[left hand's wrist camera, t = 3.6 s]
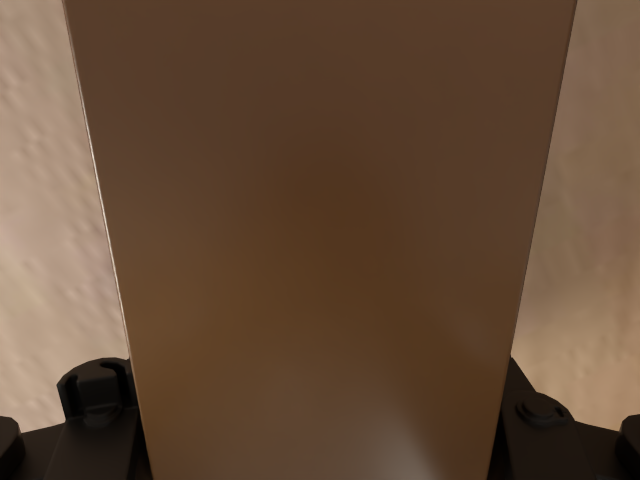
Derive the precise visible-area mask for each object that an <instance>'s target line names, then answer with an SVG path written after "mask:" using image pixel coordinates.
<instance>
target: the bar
mask: <svg viewBox="0 0 640 480" xmlns="http://www.w3.org/2000/svg"><path fill="white" fill-rule="evenodd" d="M62 3H63V8H64V14H65V19H66V24H67V29H68V35H69V40H70V45H71V50H72V56H73V61H74V66H75V72H76V77H77V82H78V87H79V93H80V98H81V103H82V109H83V114H84V119H85V124H86V130H87V135H88V140H89V145H90V151H91V156H92V161H93V167H94V172H95V177H96V182H97V188H98V193H99V198H100V204H101V209H102V214H103V219H104V225H105V230H106V235H107V240H108V246H109V251H110V256H111V262H112V267H113V272H114V277H115V283H116V288H117V293H118V299H119V304H120V309H121V314H122V320H123V325H124V330H125V336H126V341H127V346H128V351H129V357H130V362H131V367H132V372H133V378H134V383H135V388H136V394H137V399H138V404H139V409H140V415H141V420H142V425H143V431H144V436H145V441H146V446H147V452H148V457H149V462H150V467H151V473H152V478H153V480H487V476H488V470H489V465H490V460H491V454H492V449H493V444H494V439H495V433H496V428H497V423H498V417H499V412H500V407H501V401H502V396H503V391H504V386H505V380H506V375H507V370H508V364H509V359H510V354H511V349H512V343H513V338H514V333H515V327H516V322H517V317H518V311H519V306H520V301H521V296H522V290H523V285H524V280H525V274H526V269H527V264H528V259H529V253H530V248H531V243H532V237H533V232H534V227H535V221H536V216H537V211H538V206H539V200H540V195H541V190H542V184H543V179H544V174H545V169H546V163H547V158H548V153H549V147H550V142H551V137H552V131H553V126H554V121H555V116H556V110H557V105H558V100H559V94H560V89H561V84H562V79H563V73H564V68H565V63H566V57H567V52H568V47H569V41H570V36H571V31H572V26H573V20H574V15H575V10H576V4H577V0H62Z"/></svg>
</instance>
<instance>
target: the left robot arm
mask: <svg viewBox="0 0 640 480" xmlns="http://www.w3.org/2000/svg"><path fill="white" fill-rule="evenodd" d="M57 388H58V392H59V396H60V400H61V403H62V407H63V411H64V414H65V418H66V421H65V423H62V424H58V425H55V426H51V427H47V428H42V429H38V430H34V431H29V432H25V433H21V431H20V428H19V425H18V423H17V422H16V421H15V420H14V419H12V418H10V417H3V416H0V480H153V478H152V473H151V467H150V462H149V457H148V452H147V446H146V441H145V436H144V431H143V425H142V420H141V415H140V409H139V404H138V399H137V394H136V388H135V383H134V378H133V372H132V367H131V362H130V357H129V359H127V360H124V359H120V358H116V357H113V358H100V359H96V360H92V361H88V362H86V363H84V364H81V365H79V366H77V367H75V368H73V369H72V370H70V371H69V372H68V373H66V374H65V375H64V376H63V377H62V378H61V379H60V381H59V382H58V383H57ZM487 480H640V414H638V415H631V416H628V417H627V418H626V419H624V420H623V421H622V424H621V427H620V430H619V431H614V430H610V429H605V428H601V427H597V426H592V425H588V424H584V423H581V422H577V421H575V420H574V418H573V417H572V415H571V414H570V412H569V410H568V409H567V408H565V407H564V406H563V405H562V404H561V403H559V402H558V401H557V400H555V399H553V398H551V397H549V396H547V395H545V394H542V393H538V392H536V391H535V389H534V388H533V386H532V385H531V384H530V382H529V381H528V379H527V378H526V376H525V375H524V373H523V372H522V370H521V369H520V367H519V366H518V365H517V363H516V362H515V360H514V359H513V358H511V354H510V359H509V364H508V370H507V375H506V380H505V386H504V391H503V396H502V401H501V407H500V412H499V417H498V423H497V428H496V433H495V439H494V444H493V449H492V454H491V460H490V465H489V470H488V476H487Z"/></svg>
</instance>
